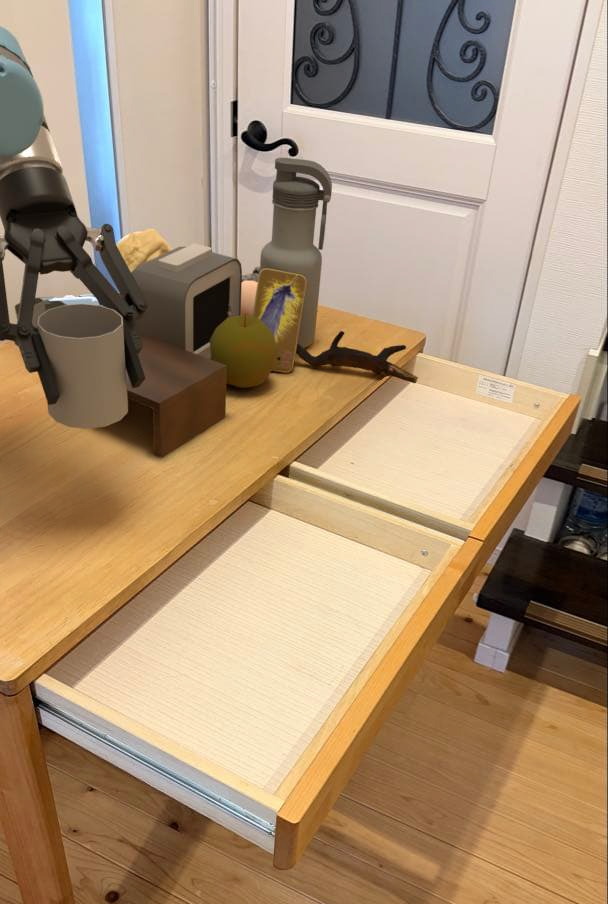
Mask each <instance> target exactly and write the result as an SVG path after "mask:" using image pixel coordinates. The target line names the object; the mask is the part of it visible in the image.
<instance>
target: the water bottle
mask: <svg viewBox="0 0 608 904" xmlns="http://www.w3.org/2000/svg"><path fill="white" fill-rule="evenodd" d="M274 169H275V170H276V175H275V179H274V181H273V183H272V200H271V203H272V205H273V210H272V211H273V213H272V227H271V228H272V230H271V240H270V241H269V242H267V243H266V244H265V245H264V246H263V247H262V249H261V250H260V251H261V252H260V259H259V261H260V262H259V267H260V271H261V270H262V269H265V268H268V269H274V270H279V271H284V272H289V273H295V274H300V275H303V276H304V277H305V279H306V290H305V296H304V302H303V308H302V315H301V321H300V327H299V333H298V339H297V343H298V344H299V345H300V346H301V347H303V348H304V349H305V348H307V347H309V346H311V345H312V344H313V343H314V341H315V338H316V330H317V318H318V307H319V296H320V287H321V275H322V265H323V256H322V253H321V251H323V249H324V243H325V233H326V224H327V212H328V203H330V201H331V199H332V198H331V197H332V193H333V192H332V191H333V190H332V189H333V183H332V179H331V176H330V174H329V172H328V171H327V170H326V168H325V167H323V166H322V164H320V163H318V162H316V161H313V160H309V159H301V158H292V157H277V158H275V159H274ZM297 174H303V175H307V176H311V177H312V178H314V179H316V180H317V181H318V182H319V183H318V182H316V181H315V180H313V179H312V178H308V177H304V176H299V175H297ZM320 185H321V186H320ZM321 187H322V189H321ZM319 201H322V208H321V218H320V226H319V237H318V247H317V246H316V245H315V244H314V240H315V239H314V238H315V230H316V229H315V226H316V217H317V208H319Z"/></svg>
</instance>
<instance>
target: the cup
mask: <svg viewBox="0 0 608 904" xmlns="http://www.w3.org/2000/svg"><path fill="white" fill-rule="evenodd" d="M37 326H38V333H40V336H41V338H42V342H43V345H44V348H45V351H46V354H47V357H48V360H49V363H50V366H51V369H52V372H53V375H54V378H55V381H56V384H57V387H58V390H59V393H60V397H59V399H58V400H57V402H56V404H52V405H48V402H47V401H46V404H47V413H48V415H49V416H50V417H51V418H52V420H53V421H55V422H56V423H58V424H61V425H63V426H66V427H69V428H75V429H84V430H85V429H86V430H89V429H96V428H104V427H108V426H109V425H113V424H115V423H117V422H119V421H120V422H121V420H122V419H123V418H124V417H125V416H126V415H127V414H128V413H129V401H128V400H129V399H128V398H127V382H126V365H125V348H124V331H123V317H122V316H121V315H120V314H119V313H117V312H116V311H115V310H113V309H109V308H106V307H103V306H100V305H90V304H73V305H63V306H59V307H56V308H52V309H49V310H47V311H46V312H44V313H43V314H41V315H40V316H39V317H38V323H37Z"/></svg>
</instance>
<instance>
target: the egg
mask: <svg viewBox="0 0 608 904" xmlns="http://www.w3.org/2000/svg"><path fill="white" fill-rule="evenodd" d="M257 284H258V282H255V281H243V282H242V285H241V314H240V315H241V316H245V314H246V316H250V317H253V310H254V304H255V297H256V290H257Z"/></svg>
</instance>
